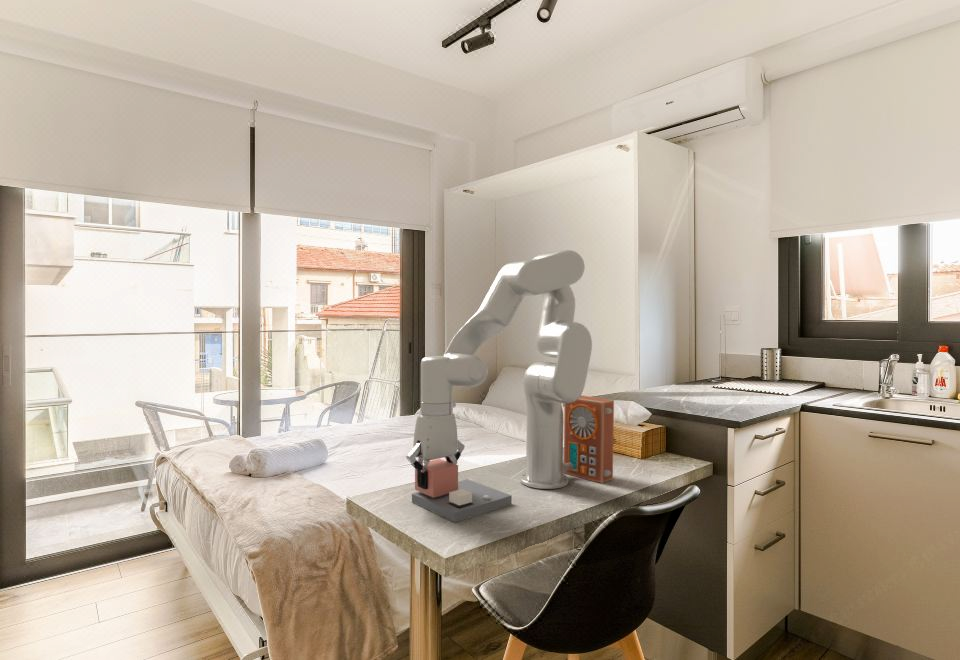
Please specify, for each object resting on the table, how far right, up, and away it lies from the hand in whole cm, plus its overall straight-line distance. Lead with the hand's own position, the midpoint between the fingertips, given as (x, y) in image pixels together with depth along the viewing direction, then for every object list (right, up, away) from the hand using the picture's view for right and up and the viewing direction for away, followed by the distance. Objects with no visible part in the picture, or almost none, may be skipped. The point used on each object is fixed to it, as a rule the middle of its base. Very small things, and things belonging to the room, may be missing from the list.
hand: (436, 483), depth 128 cm
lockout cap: (0, -1, 0) cm, 1 cm away
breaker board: (+6, -4, -1) cm, 7 cm away
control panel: (+40, -4, +21) cm, 45 cm away
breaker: (+6, -2, -7) cm, 9 cm away
